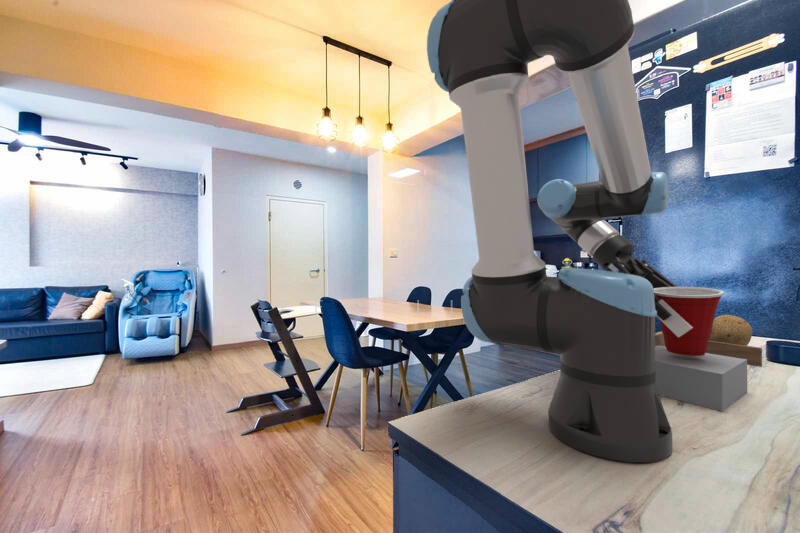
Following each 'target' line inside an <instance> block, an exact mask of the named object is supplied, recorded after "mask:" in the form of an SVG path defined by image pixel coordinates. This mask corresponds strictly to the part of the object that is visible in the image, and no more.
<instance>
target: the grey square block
mask: <svg viewBox="0 0 800 533" xmlns="http://www.w3.org/2000/svg"><path fill="white" fill-rule="evenodd" d="M655 382H656V389H657V392H658V395H659V396H660V397H661V396H662V397H665V398H668V399H673V400H678V401H681V402H685V403H689V404H692V405H697V406H701V407H705V408H708V409H712V410H715V411H716V410H717V411H719V412H720V411H721V412H724V411H725V410H726V409H728V408H729V407H730V406H732V405H733V404H734V403H735V402H737V401H738V400H739V399H741V398H742V397H743V396H745V395H746V394H747V393H748V364H747V359H741V358H734V357H728V356H722V355H716V354H709V353H705V355H703V356H688V355H680V354H675V353H671V352H669V351H667V349H666V347H665V346H659V345H658V346H655Z"/></svg>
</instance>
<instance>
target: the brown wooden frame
mask: <svg viewBox="0 0 800 533" xmlns="http://www.w3.org/2000/svg"><path fill="white" fill-rule="evenodd" d="M658 345H659V346H665V341H664V336H663V333H662V330H661V331H658V332H655V346H658ZM705 353H709V354H716V355H722V356H728V357H734V358H741V359H747V365H751V366H754V367H755V366H756V367H762V366H763V348H762V347H759V346H751V345H747V346H745V345H737V344H730V343H723V342H715V341H708V345H707V350H706V352H705Z"/></svg>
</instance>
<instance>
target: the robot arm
mask: <svg viewBox="0 0 800 533" xmlns="http://www.w3.org/2000/svg"><path fill="white" fill-rule="evenodd" d="M633 18H634V16H633V12H632V8H631V6H630V2H629V0H451V1H449V2H447V4H445V5H443V6H442V7H441V8H439V9H438V10H437V11H436V13H435V15H434V16H433V18H432V20H431V21H430V25H429V28H428V30H427V31H428V32H427V36H426V52H427V53H426V54H427V60H428V61H427V62H428V66H429V69H430V72H431V74H433V75H434V76H433V77H434V79H433V80H434V81H435V83H436V84H437V85H438V87H439V88H440V89H442V90H443V91H445V92H447V93H448V96H449V97H448V98H449V100H450V101H451V102H452V103H453V104H455V105H456V106H458V107H459V109H460V113H461V120H462V127H463V128H462V129H463V130H462V131H463V137H464V144H465V145H464V146H465V152H466V161H467V169H468V177H469V185H470V194H471V202H472V210H473V219H474V227H475V233H476V234H475V236H476V243H477V251H478V261H477V262H476V263H475V265H474V266H473V267H472V268H471V271H470V272H471V277H469V278H468V279H467V280H466V281H465V283H464V285H463V288H462V293H463V295H461V298H460V306H461V307H460V309H461V313H462V317H463V320H464V323H465V326H466V328H467V329H468V331H469V332H470V333H471V334H472V335H473V337H475V338H477V339H478V340H479V341H481V342H484V343H490V344H494V345H496V346H499V347H512V348H518V349H525V350H530V351H531V350H532V351H539V352H545V353H551V354H552V353H553V354H557V355H559V359H560V375H559V379H558V380H557V383H556V386H555V390H554V392H553V396H552V399H551V401H550V404H549V407H548V411H547V412H548V414H547V416H548V418H547V420H548V423H547V425H548V426H547V427H548V428H549V430H550V432H551V434H552V435H553V436H555V437H556V438H557V439H558V440H559V441H561V442H563V443H564V444H566V445H568V446H569V447H571V448H574V449H575V450H578V451H580V452H583V453H585V454H589V455H592V456H596V457H599V458H603V459H607V460H611V461H618V462H619V461H620V462H625V463H626V462H628V463H650V462H656V461H662V460H663V459H666V458H667V457H669V456H670V455H671V454H672V453H673V446H674V445H673V431H672V427H671V424H670V422H669V419H668V417H667V414H666V411H665V408H664V406H663V404H662V400H661V398H660V397H661V396H660V395H658V392H657V389H656V382H655V333H656V317H657V318H658V319H659V321H660V320H661V321H662V322H663V323H664V324H665V325H666V326H667V327H668V328H669V329H670V330H671V331H672V332H673V333H674V334H675V335H676V336H677V337H680V336H682V335H683V334H685V333H686V332H688V331H689V330H691V329H692V328H693V327H692V326H691V325H690V324H689V323H687V322H686V321H685V320H684V319H683V318H682V317H681V316H680V315H679V314H678V313H677V312H676V311H674V310H673V309H672V308H671V307H670V306H669V305H668V304H667V303H666V302H665V301H664V300H663V299H661V300H659V299H658V298H657V296H656V295H655V294H654V288H661V287H678V286H677V285H676V284H675V283H673V282H672V281H671V280H670V279H669V278H667V277H666V276H664V275H663V274H662V273H660V271H658V270H657V269H656V268H654V267H653V266H652V265H651V264H649V262H648V261H647V260H645V259H642V260H640V259H639V258H635V257H634V256H632V253H633V251H634V249H635V246H634V244H633V243H631V241H629V240H628V239H627V238H626V237H625V236H623V235H620V232H619V230H617V229H616V228H614V227H613V226H612V225H611V224H610V223H609V222H607V220H605V219H606V218H607V219H610V218H611V219H612V218H620V217H622V218H623V217H634V216H635V217H642V216H644V215H645V216H646V215H652V214H661V213H663V212H665V211H666V210H667V208H668V207H669V197H670V196H669V195H670V192H669V190H670V189H669V187H670V186H669V179H668V175H667V173H666V172H664V171H651V170H652V169H651V165H650V164H651V163H650V159H649V154H648V148H647V143H646V137H645V132H644V127H643V121H642V117H641V109H640V106H639V100H638V94H637V88H636V84H635V79H634V74H633V73H634V72H633V68H632V62H631V57H630V52H629V43H630V42H631V41H632V39H633V38H634V35H635V25H634V20H633ZM546 56H552V57H553V60H554V64H555V67H556V68H557V70H558V71H559V72H560V73H564V74H567V75H568V79H569V82H570V85H571V89H572V91H573V95H574V98H575V101H576V104H577V106H578V110H579V114H580V116H581V120H582V123H583V125H584V128H585V132H586V135H587V138H588V142H589V143H590V144H589V145H590V147H591V150H592V153H593V156H594V157H593V158H594V160H595V163H596V166H597V170H598V172H599V175H600V179H601V180H595V181H587V182H581V183H575V184H572V182H569V181H567V180H565V179H562V178H556V179H551V180H550V181H548V182H547V183H544V185H543V186H541V188H540V190H539V192H538V194H537V198H536V199H537V205H538V207H539V209H540V210H541V211H542V213H543V214H544V215H545V217H547V218H549V219H550V220H551V221H552V222H554V223H555V225H556V226H558V227H559V228H560V229H561V230H562V231H563V232H564V233H565V234H567V235H568V236H569V237H570V238H571V239H572V240H573V241H574V242H575V243H576V244H577V245H578V246H579V247H580V248H581V251H582V253H586V254H588V256H589V257H592V259H593V261H594V262H595V263H596V264H597V265H598V266H599V267H600V268H601V269H592V268H591V269H590V268H580V267H561V269H560V270H559V272H558V274H557V276H548V274H547V270H546V262H545V260H543V259H541V258H540V257H539V256H537V255H536V253H535V252H534V251H535V250H534V249H535V247H534V239H533V228H532V219H531V218H532V216H531V208H530V197H529V187H528V186H529V185H528V176H527V174H528V173H527V165H526V156H525V153H526V152H525V144H524V134H523V125H522V124H523V123H522V113H521V111H522V110H521V102H520V94H521V92H522V91H523V90H524V88H525V87H526V85H527V84H528V83H529V80H530V79H529V67H528V64H530V63H531V62H535V61H537V60H539V59H542V58H544V57H546ZM658 300H659V301H658Z"/></svg>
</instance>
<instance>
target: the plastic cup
mask: <svg viewBox="0 0 800 533" xmlns="http://www.w3.org/2000/svg"><path fill="white" fill-rule="evenodd" d="M654 294H655V295H656V296H657V298H658V299H659V300H661V299H663V300H664V301H665V302H666V303H667V304H668V305H669V306H670V307H671V308H672V309H673V310H674V311H676V312H677V313H678V314H679V315H680V316H681V317H682V318H683V319H684V320H685V321H686V322H687V323H689V324H690V325H691V326H692V327H693V328H692V329H691V330H689V331H688V332H686V333H685V334H683V335H682V336H680V337H677V336H676V335H675V334H674V333H673V332H672V331H671V330H670V329H669V328H668V327H667V326H666V325H665V324H664V323H663V322H662V321H661V320H660V319H659V322H660V328H661V331H662V333H663V336H664V341H665V347H666V349H667V351H669V352H671V353H675V354H680V355H688V356H703V355H705V352H706V350H707V345H708V340H709V337H710V334H711V330H712V325H713V321H714V318H715V316H716V311H717V309H718V304H720V303H719V302H720V299H721V298H722V297H723V296H724V294H725V292H724V291H723V290H720V289H716V288H710V287H709V288H707V287H697V286H677V287H661V288H654ZM659 300H658V301H659Z"/></svg>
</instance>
